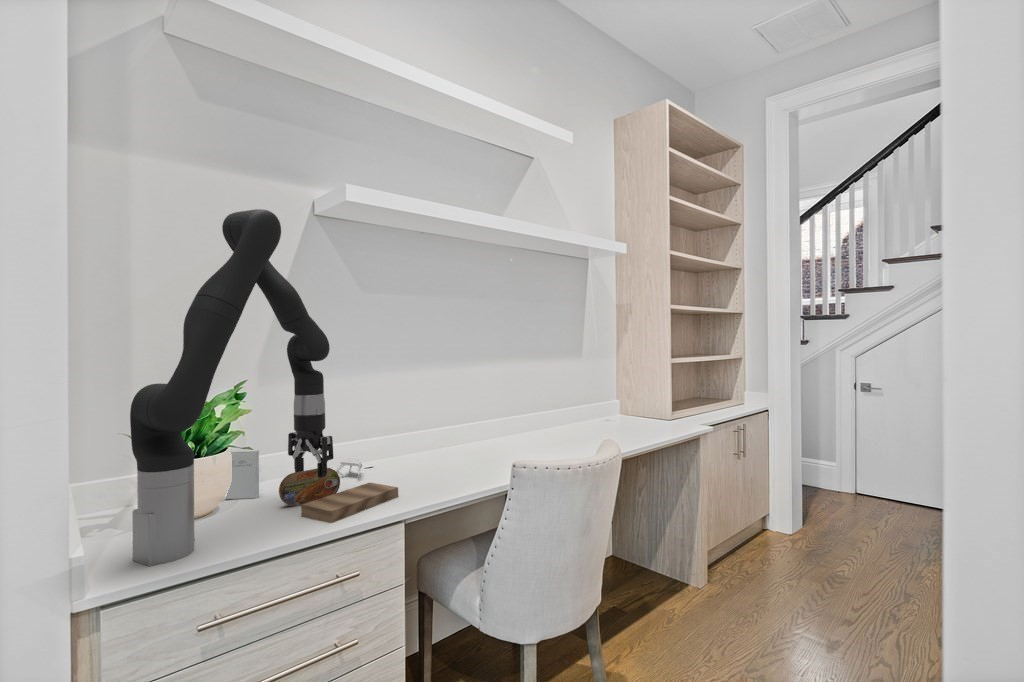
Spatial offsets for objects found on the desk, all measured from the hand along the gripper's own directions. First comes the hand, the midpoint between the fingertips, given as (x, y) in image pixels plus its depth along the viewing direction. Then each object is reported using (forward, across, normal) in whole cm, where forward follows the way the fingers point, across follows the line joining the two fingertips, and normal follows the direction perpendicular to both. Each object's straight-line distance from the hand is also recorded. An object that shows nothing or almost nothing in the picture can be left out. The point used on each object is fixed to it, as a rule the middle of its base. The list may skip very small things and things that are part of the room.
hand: (310, 474), depth 135 cm
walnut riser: (+7, +13, +2) cm, 15 cm away
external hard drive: (+7, -19, -6) cm, 21 cm away
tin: (+7, 0, 0) cm, 7 cm away
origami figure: (+8, -9, +22) cm, 25 cm away
